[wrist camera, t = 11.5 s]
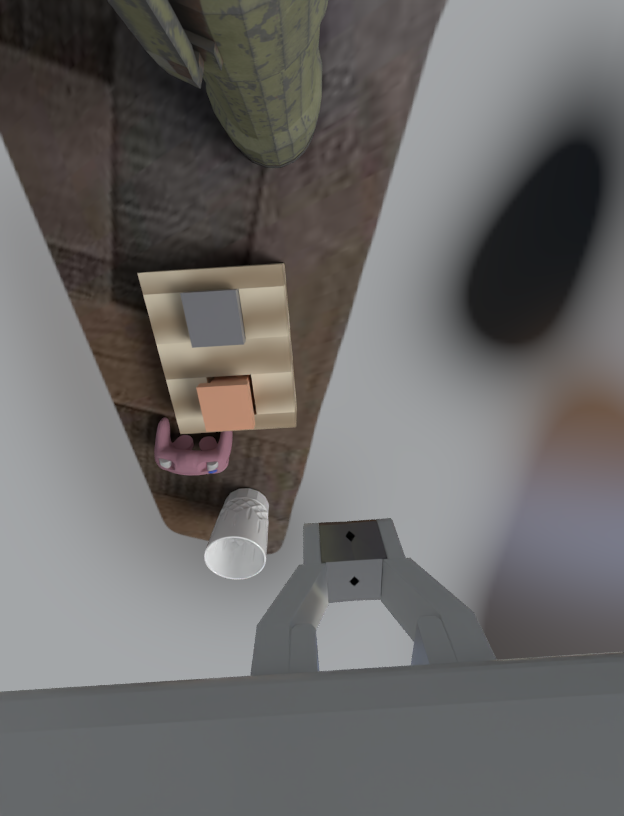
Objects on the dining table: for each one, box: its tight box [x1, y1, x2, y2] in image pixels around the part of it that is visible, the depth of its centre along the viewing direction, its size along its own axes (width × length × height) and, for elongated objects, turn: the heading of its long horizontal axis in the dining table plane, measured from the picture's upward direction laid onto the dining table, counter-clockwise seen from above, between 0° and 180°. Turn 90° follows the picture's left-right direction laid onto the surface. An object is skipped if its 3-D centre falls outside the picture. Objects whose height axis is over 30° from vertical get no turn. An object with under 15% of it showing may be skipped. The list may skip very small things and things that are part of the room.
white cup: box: [204, 488, 269, 579], centre depth 46 cm, size 8×8×10 cm
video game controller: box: [155, 417, 232, 475], centre depth 43 cm, size 10×5×7 cm, turn 85°
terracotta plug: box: [196, 374, 255, 432], centre depth 37 cm, size 5×5×7 cm
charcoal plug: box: [180, 289, 246, 348], centre depth 34 cm, size 5×5×7 cm
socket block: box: [138, 263, 297, 434], centre depth 37 cm, size 18×14×5 cm
